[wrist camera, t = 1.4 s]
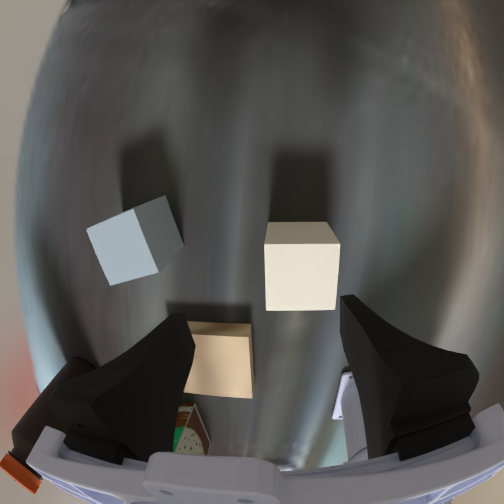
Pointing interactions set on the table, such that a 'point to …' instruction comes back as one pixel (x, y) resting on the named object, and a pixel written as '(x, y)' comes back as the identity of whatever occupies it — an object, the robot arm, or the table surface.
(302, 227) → the cream block
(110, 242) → the slate block
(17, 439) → the bottle
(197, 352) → the oak slab
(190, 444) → the food container
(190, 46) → the table surface
